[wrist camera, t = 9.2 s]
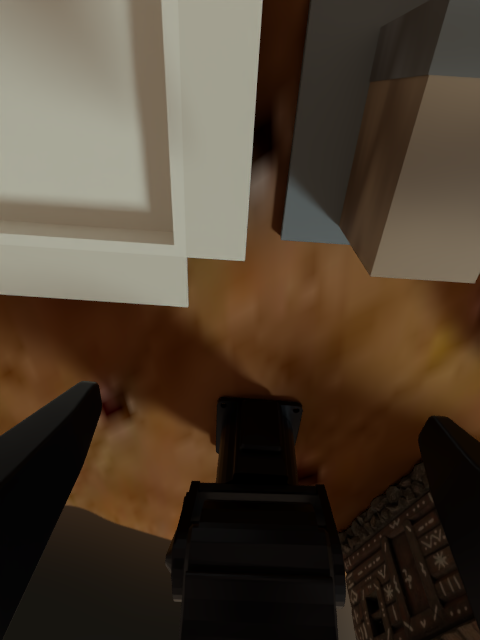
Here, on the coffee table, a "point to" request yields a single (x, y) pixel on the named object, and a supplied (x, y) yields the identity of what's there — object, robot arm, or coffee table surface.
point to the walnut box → (420, 149)
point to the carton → (123, 144)
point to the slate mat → (331, 111)
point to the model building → (405, 569)
